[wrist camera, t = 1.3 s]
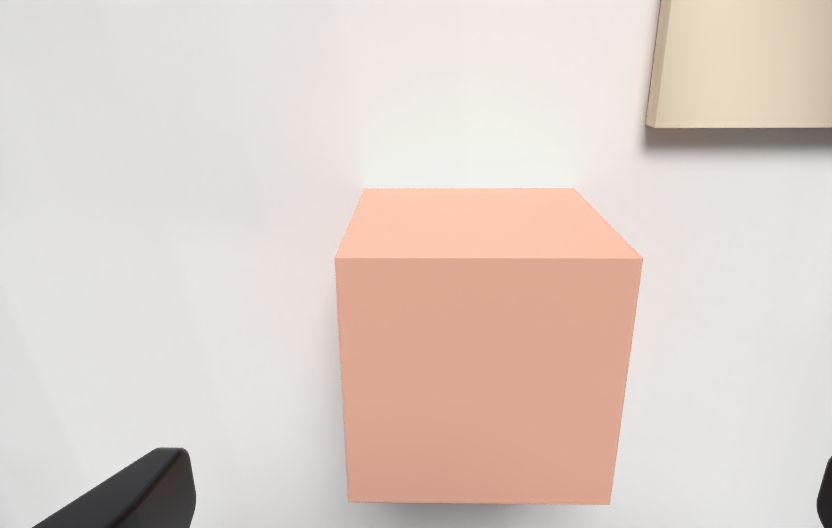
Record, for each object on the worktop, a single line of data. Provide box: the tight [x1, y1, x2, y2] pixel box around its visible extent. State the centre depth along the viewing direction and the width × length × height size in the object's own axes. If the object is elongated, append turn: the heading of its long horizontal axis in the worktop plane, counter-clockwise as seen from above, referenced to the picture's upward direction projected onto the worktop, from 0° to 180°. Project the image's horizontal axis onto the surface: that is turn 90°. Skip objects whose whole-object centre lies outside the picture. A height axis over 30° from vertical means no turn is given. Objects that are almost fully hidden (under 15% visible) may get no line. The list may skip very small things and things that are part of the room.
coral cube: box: [335, 188, 643, 505], centre depth 13 cm, size 5×5×5 cm
